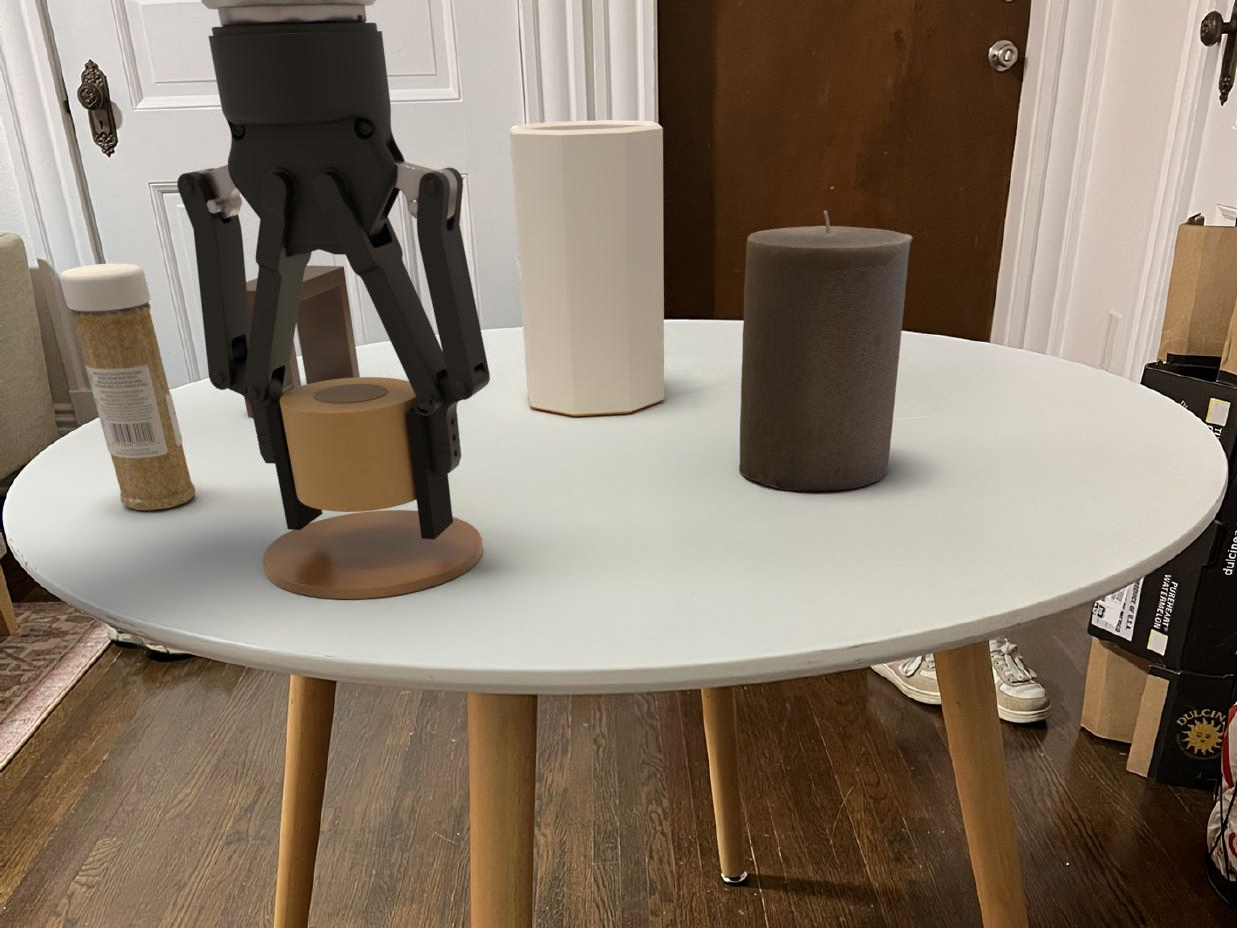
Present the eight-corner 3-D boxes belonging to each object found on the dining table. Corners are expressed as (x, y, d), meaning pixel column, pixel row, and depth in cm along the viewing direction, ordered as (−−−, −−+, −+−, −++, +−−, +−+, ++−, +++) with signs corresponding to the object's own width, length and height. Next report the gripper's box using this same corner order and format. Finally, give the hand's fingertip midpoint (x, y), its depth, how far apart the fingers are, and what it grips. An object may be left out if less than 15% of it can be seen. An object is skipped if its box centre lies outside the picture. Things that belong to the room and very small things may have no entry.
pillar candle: (752, 496, 72) (762, 224, 64) (728, 450, 81) (734, 203, 72) (907, 489, 73) (937, 218, 65) (868, 444, 81) (890, 197, 73)
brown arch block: (247, 416, 91) (222, 289, 86) (313, 382, 99) (293, 265, 94) (299, 419, 90) (277, 291, 85) (361, 384, 98) (344, 265, 93)
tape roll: (272, 508, 61) (253, 407, 59) (334, 467, 67) (318, 373, 64) (400, 517, 60) (386, 414, 57) (452, 473, 66) (441, 378, 63)
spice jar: (209, 491, 76) (158, 261, 68) (172, 514, 72) (113, 274, 65) (146, 487, 77) (88, 260, 69) (105, 510, 73) (40, 273, 65)
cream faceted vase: (501, 394, 95) (479, 125, 84) (622, 374, 99) (615, 117, 89) (564, 425, 87) (549, 133, 76) (692, 403, 91) (694, 123, 81)
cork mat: (222, 589, 62) (220, 578, 62) (325, 514, 72) (323, 504, 71) (434, 607, 60) (433, 596, 59) (511, 526, 69) (510, 516, 69)
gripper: (537, 10, 52) (565, 514, 65) (142, 24, 57) (241, 493, 70) (479, 9, 46) (522, 563, 59) (42, 24, 51) (171, 537, 64)
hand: (370, 525), depth 65 cm, fingers closed on tape roll, 7 cm apart
